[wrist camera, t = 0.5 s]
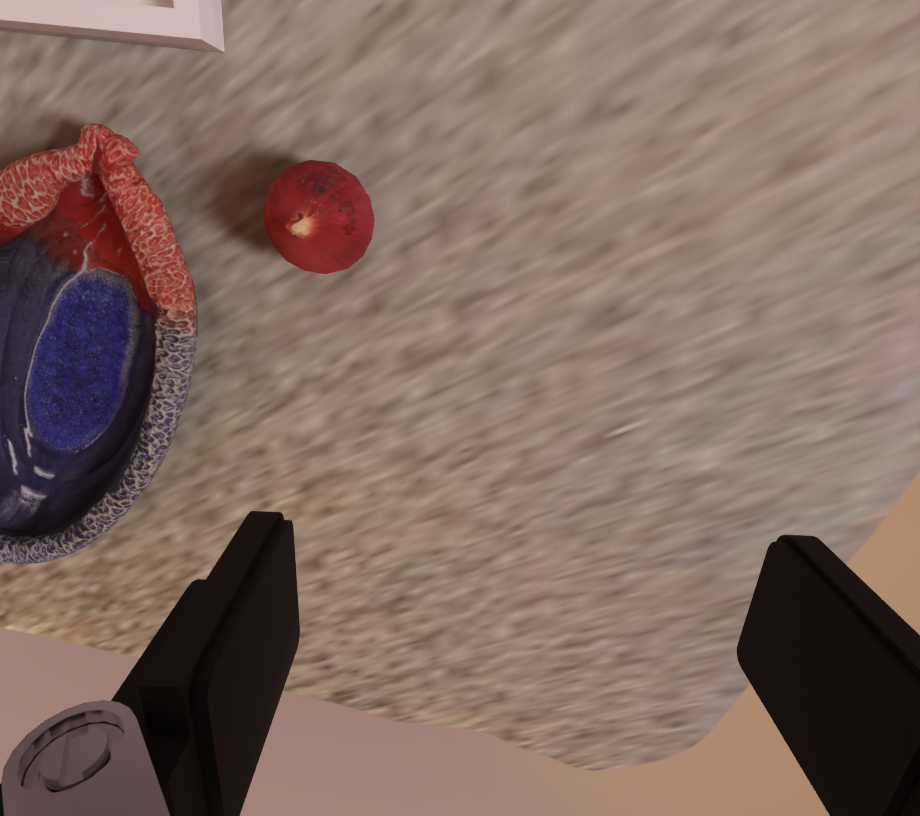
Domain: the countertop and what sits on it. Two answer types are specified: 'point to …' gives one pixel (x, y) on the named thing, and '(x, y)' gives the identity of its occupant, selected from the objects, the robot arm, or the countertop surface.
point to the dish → (85, 343)
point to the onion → (319, 217)
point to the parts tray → (121, 21)
